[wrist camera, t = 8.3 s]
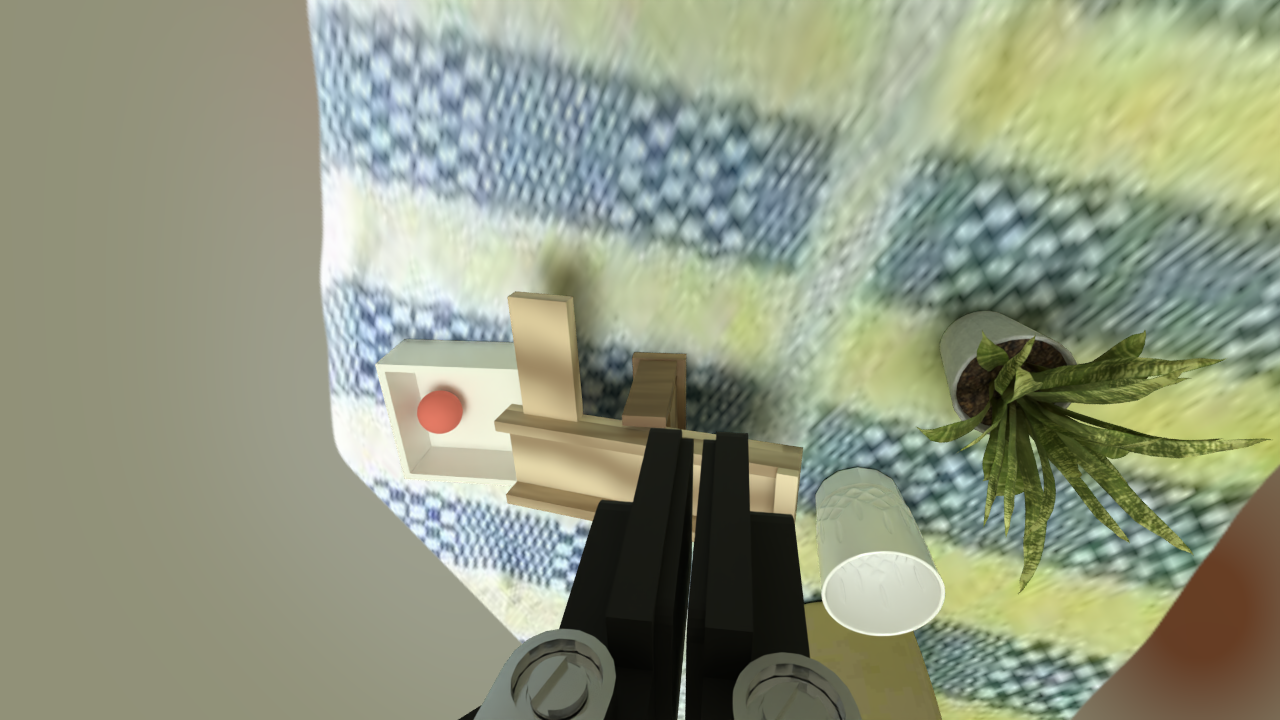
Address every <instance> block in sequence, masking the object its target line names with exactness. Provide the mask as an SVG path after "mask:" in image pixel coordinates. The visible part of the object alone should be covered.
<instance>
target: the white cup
mask: <svg viewBox="0 0 1280 720" xmlns="http://www.w3.org/2000/svg"><path fill="white" fill-rule="evenodd" d="M815 503H816V517H817V521H816V539H817V554H818V563H819V572H820V583H821V593H822V601H823V604H824V607H825V609H826V610H827V612H828V613H829V615H830V616H831V617H832V618H833V619H834V620H835V621H836V622H838V623H839V624H841V625H842V626H844V627H846V628H848V629H850V630H852V631H855V632H858V633H861V634H866V635H872V636H893V635H900V634H904V633H908V632H911V631H914V630H916V629H918V628H920V627H922V626H924V625H925V624H927V623H928V622H929V621H931V620H932V619H933V618H934V617H935V616H936V615H937V614H938V612H939V611H940V609H941V607H942V605H943V603H944V599H945V587H944V583H943V581H942V578H941V576H940V574H939V572H938V570H937V567H936V565H935V563H934V561H933V559H932V556H931V554H930V552H929V550H928V547H927V545H926V543H925V541H924V538H923V536H922V534H921V532H920V531H919V528H918V526H917V524H916V522H915V520H914V518H913V516H912V514H911V512H910V510H909V508H908V506H907V505H906V504H905V502H904V499H903V497H902V495H901V493H900V491H899V489H898V488H897V486H896V485H895V483H894V481H893V480H892V479H891V478H889V477H888V476H886V475H884V474H883V473H881V472H879V471H877V470H873V469H866V468H859V467H856V468H851V469H846V470H842V471H838V472H836V473H835V474H833V475H832V476H830V477H829V478H827V479H826V480H824V481H823V483H822V484H821V486H820V488H819V489H818V491H817V493H816V495H815Z"/></svg>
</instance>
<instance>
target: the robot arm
mask: <svg viewBox="0 0 1280 720" xmlns="http://www.w3.org/2000/svg"><path fill="white" fill-rule="evenodd" d="M693 462H694V438H682V429H666V428H650V431H649V435H648V440H647V444H646V448H645V452H644V457H643V461H642V465H641V469H640V474H639V478H638V482H637V486H636V491H635V495H634V499H633V502H625V501H612V500H601V501H600V502H599V504H598V506H597V509H596V512H595V515H594V519H593V522H592V525H591V528H590V531H589V535H588V538H587V541H586V544H585V548H584V551H583V554H582V557H581V560H580V564H579V567H578V570H577V573H576V577H575V580H574V583H573V586H572V589H571V593H570V596H569V599H568V602H567V606H566V609H565V612H564V615H563V618H562V622H561V625H560V628H559V629H557V630H551V631H546V632H543V633H541V634H539V635H536V636H534V637H532V638H530V639H528V640H527V641H526V642H524V643H523V644H522V645H521V646H519V647H518V648H517V649H516V650H515V651H514V652H513V653H512V655H511V656H510V657H509V659H508V660H507V661H506V663H505V664H504V666H503V668H502V669H501V671H500V673H499V675H498V677H497V678H496V680H495V682H494V684H493V686H492V687H491V689H490V691H489V693H488V695H487V696H486V698H485V700H484V702H483V704H482V705H481V706H479V707H478V708H476V709H475V710H473V711H471V712H470V713H468V714H466V715H465V716H464V717H462V718H460V719H459V720H677V718H678V707H679V696H680V685H681V674H682V663H683V652H684V641H685V630H686V619H687V609H688V619H687V642H686V707H685V720H862V718H861V715H860V712H859V709H858V706H857V704H856V702H855V700H854V698H853V696H852V694H851V692H850V690H849V688H848V687H847V686H846V685H845V684H844V683H843V681H842V680H841V679H840V678H839V677H838V676H837V675H836V674H835V673H834V672H833V671H831V670H830V669H829V668H827V667H826V666H824V665H823V664H821V663H820V662H818V661H816V660H813V659H811V658H810V651H809V642H808V634H807V625H806V617H805V608H804V600H803V591H802V583H801V574H800V566H799V557H798V549H797V540H796V532H795V524H794V518H793V515H792V514H781V513H768V512H755V511H750V486H749V446H748V433H733V432H717V431H716V440H710V439H704V440H703V450H702V461H701V472H700V483H699V494H698V505H697V516H696V527H695V538H694V549H693V560H692V514H693ZM691 560H692V571H691ZM690 576H691V582H690ZM689 587H690V593H689ZM688 598H689V605H688Z"/></svg>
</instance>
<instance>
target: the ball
mask: <svg viewBox="0 0 1280 720" xmlns="http://www.w3.org/2000/svg"><path fill="white" fill-rule="evenodd" d="M462 415H463V408H462V405H461V402H460V400H459V399H458V398H457V397H456V396H455V395H454V394H452V393H450V392H448V391H443V390H438V391H433V392H431V393H429V394H427V395H426V396H425V397H424V398H423V399H422V400H421V401H420V403H419V405H418V409H417V417H418V420H419V422H420V424H421V425H422V427H423V428H424V429H426V430H427V431H429V432H431V433H435V434H443V433H447V432H450V431H452V430H453V429H455V428H456V427H457V426H458V424H459V423H460V421H461V419H462Z"/></svg>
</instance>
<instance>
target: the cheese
mask: <svg viewBox="0 0 1280 720" xmlns="http://www.w3.org/2000/svg"><path fill="white" fill-rule="evenodd" d="M804 608H805V617H806V625H807V634H808V642H809V651H810V658H811V659H813V660H816V661H818V662H820V663H821V664H823V665H824V666H826V667H827V668H829V669H830V670H831V671H833V672H834V673H835V674H836V675H837V676H838V677H839V678H840V679H841V680H842V681H843V683H844V684H845V685H846V686H847V687H848V688H849V690H850V692H851V694H852V696H853V698H854V700H855V702H856V704H857V706H858V709H859V712H860V715H861V718H862V720H942V718H941V714H940V711H939V707H938V704H937V701H936V697H935V694H934V691H933V687H932V684H931V681H930V678H929V675H928V672H927V669H926V666H925V663H924V660H923V657H922V654H921V652H920V649H919V646H918V643H917V641H916V638H915V635H914V632H913V631H911V632H908V633H904V634H900V635H893V636H872V635H866V634H861V633H858V632H855V631H852V630H850V629H848V628H846V627H844V626H842V625H841V624H839V623H838V622H836V621H835V620H834V619H833V618H832V617H831V616H830V615H829V613H828V612H827V610H826V609H825V607H824V604H823V601H822V602H814V603H809V604H804Z"/></svg>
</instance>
